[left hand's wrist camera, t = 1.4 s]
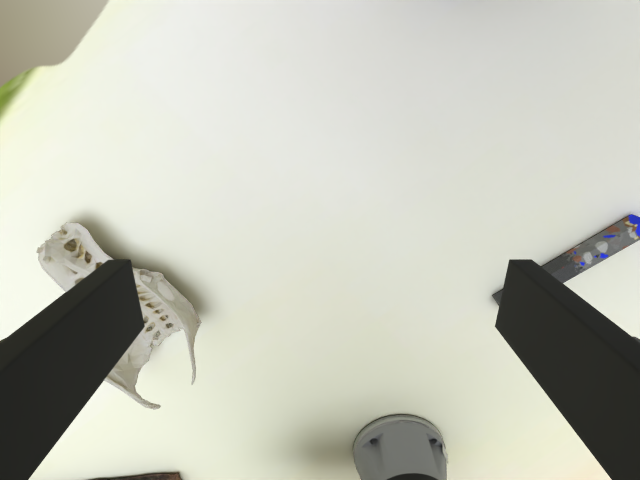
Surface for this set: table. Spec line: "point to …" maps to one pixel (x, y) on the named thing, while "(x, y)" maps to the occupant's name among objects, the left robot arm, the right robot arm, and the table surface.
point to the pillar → (592, 251)
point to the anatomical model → (153, 291)
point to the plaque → (152, 477)
